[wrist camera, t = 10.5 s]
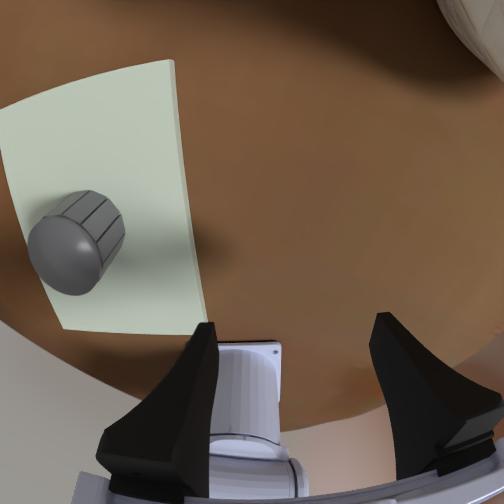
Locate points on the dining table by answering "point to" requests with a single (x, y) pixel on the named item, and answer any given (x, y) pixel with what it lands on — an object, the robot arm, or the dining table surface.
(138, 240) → the post board
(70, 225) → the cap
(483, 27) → the vase
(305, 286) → the dining table surface
